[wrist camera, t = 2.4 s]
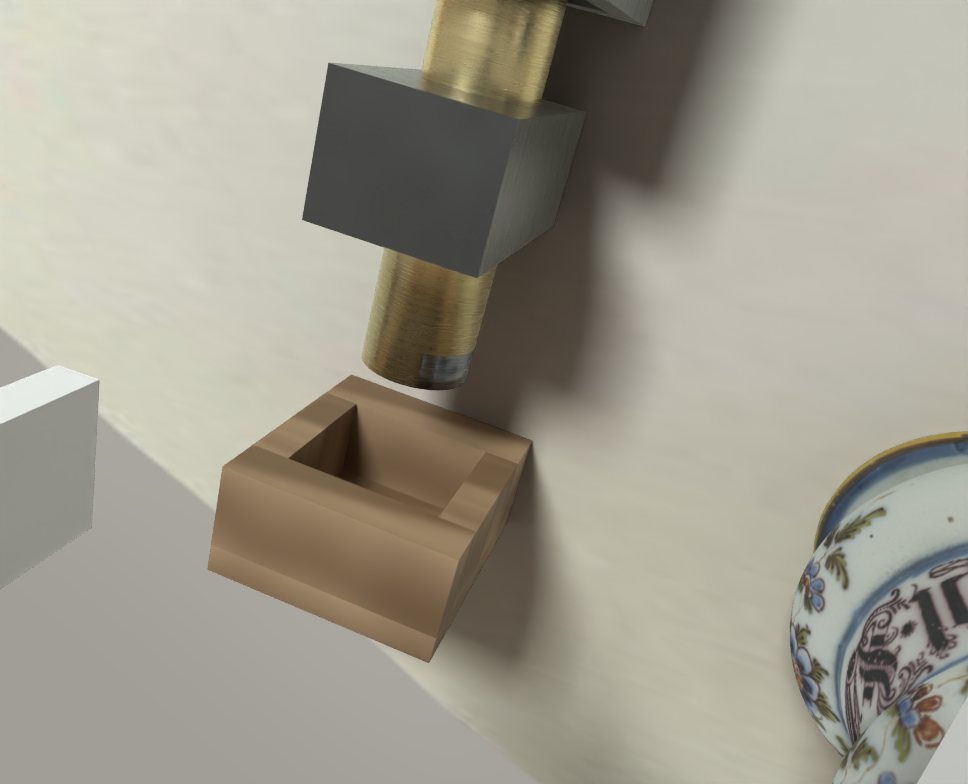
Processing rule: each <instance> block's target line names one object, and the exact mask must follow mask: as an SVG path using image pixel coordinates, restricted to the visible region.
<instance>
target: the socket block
mask: <svg viewBox="0 0 968 784" xmlns="http://www.w3.org/2000/svg"><path fill="white" fill-rule="evenodd" d="M531 443H532V441H531V440H528V439H525V438H523V437H520V436H517V435H515V434H512V433H509V432H506V431H504V430H501V429H498V428H495V427H493V426H490V425H487V424H484V423H482V422H479V421H476V420H474V419H471V418H468V417H465V416H463V415H460V414H457V413H454V412H452V411H449V410H446V409H443V408H441V407H438V406H435V405H433V404H430V403H427V402H424V401H422V400H419V399H416V398H413V397H411V396H408V395H405V394H403V393H400V392H397V391H394V390H392V389H389V388H386V387H383V386H381V385H378V384H375V383H372V382H370V381H367V380H364V379H362V378H359V377H356V376H353V375H350V376H349V377H347V378H346V379H345V380H343V381H342V382H340V383H339V384H338V385H336V386H335V387H333V388H332V389H331V390H329V391H328V392H326V393H325V394H324V395H322V396H321V397H319V398H318V399H317V400H315V401H314V402H312V403H311V404H310V405H308V406H307V407H305V408H304V409H303V410H301V411H300V412H298V413H297V414H296V415H294V416H293V417H291V418H290V419H289V420H287V421H286V422H284V423H283V424H282V425H280V426H279V427H277V428H276V429H275V430H273V431H272V432H270V433H269V434H268V435H266V436H265V437H263V438H262V439H260V440H259V441H258V442H256V443H255V444H253V445H252V446H251V447H249V448H248V449H246V450H245V451H244V452H242V453H241V454H239V455H238V456H237V457H235V458H234V459H232V460H231V461H230V462H228V463H227V464H225V465H224V466H223V468H222V474H221V481H220V488H219V495H218V502H217V508H216V515H215V522H214V529H213V535H212V542H211V549H210V556H209V562H208V570H210V571H212V572H215V573H217V574H219V575H222V576H224V577H227V578H229V579H231V580H234V581H236V582H239V583H241V584H243V585H246V586H248V587H250V588H253V589H255V590H257V591H260V592H262V593H264V594H267V595H269V596H272V597H274V598H276V599H279V600H281V601H284V602H286V603H288V604H291V605H293V606H295V607H297V608H300V609H302V610H305V611H307V612H310V613H312V614H314V615H317V616H319V617H322V618H324V619H326V620H328V621H331V622H333V623H335V624H338V625H340V626H342V627H345V628H347V629H350V630H352V631H354V632H357V633H359V634H361V635H364V636H366V637H368V638H371V639H373V640H375V641H378V642H380V643H383V644H385V645H387V646H390V647H392V648H394V649H397V650H399V651H401V652H404V653H406V654H409V655H411V656H413V657H416V658H418V659H420V660H423V661H425V662H427V663H429V662H430V660H431V659H432V657H433V655H434V653H435V651H436V649H437V648H438V646H439V644H440V642H441V640H442V639H443V637H444V635H445V633H446V631H447V630H448V628H449V626H450V624H451V622H452V621H453V619H454V617H455V615H456V613H457V612H458V610H459V608H460V606H461V604H462V603H463V601H464V599H465V597H466V595H467V594H468V592H469V590H470V588H471V586H472V585H473V583H474V581H475V579H476V577H477V576H478V574H479V572H480V570H481V568H482V567H483V565H484V563H485V561H486V559H487V558H488V556H489V554H490V552H491V550H492V549H493V547H494V545H495V543H496V541H497V539H498V538H499V536H500V534H501V532H502V530H503V529H504V527H505V525H506V523H507V520H508V516H509V513H510V510H511V507H512V504H513V500H514V497H515V494H516V491H517V488H518V484H519V481H520V478H521V475H522V472H523V468H524V465H525V462H526V459H527V456H528V452H529V449H530V446H531Z"/></svg>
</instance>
